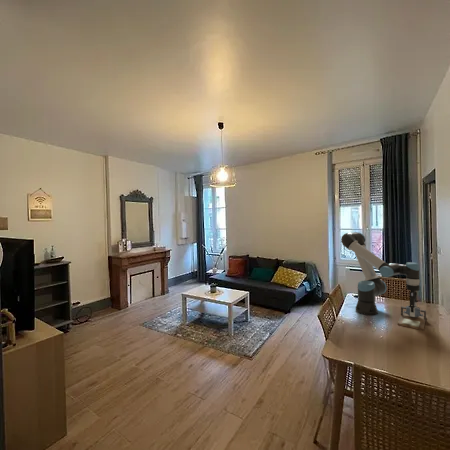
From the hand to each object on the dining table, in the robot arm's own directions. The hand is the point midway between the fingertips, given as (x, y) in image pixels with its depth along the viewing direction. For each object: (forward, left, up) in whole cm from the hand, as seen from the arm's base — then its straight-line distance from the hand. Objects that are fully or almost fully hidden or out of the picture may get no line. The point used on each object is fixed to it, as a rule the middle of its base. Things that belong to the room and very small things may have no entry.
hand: (413, 313), depth 181 cm
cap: (0, 0, -1) cm, 1 cm away
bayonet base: (0, -6, -4) cm, 7 cm away
